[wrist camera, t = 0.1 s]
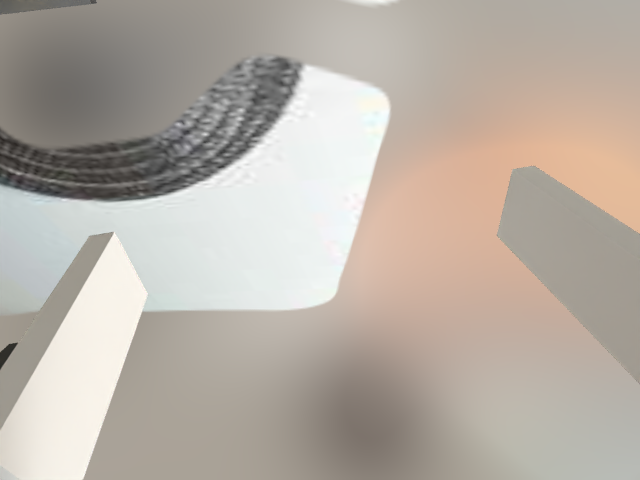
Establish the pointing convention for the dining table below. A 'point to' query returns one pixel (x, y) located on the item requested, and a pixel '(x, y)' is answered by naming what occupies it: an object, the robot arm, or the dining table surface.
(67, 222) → the dining table surface
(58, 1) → the base
